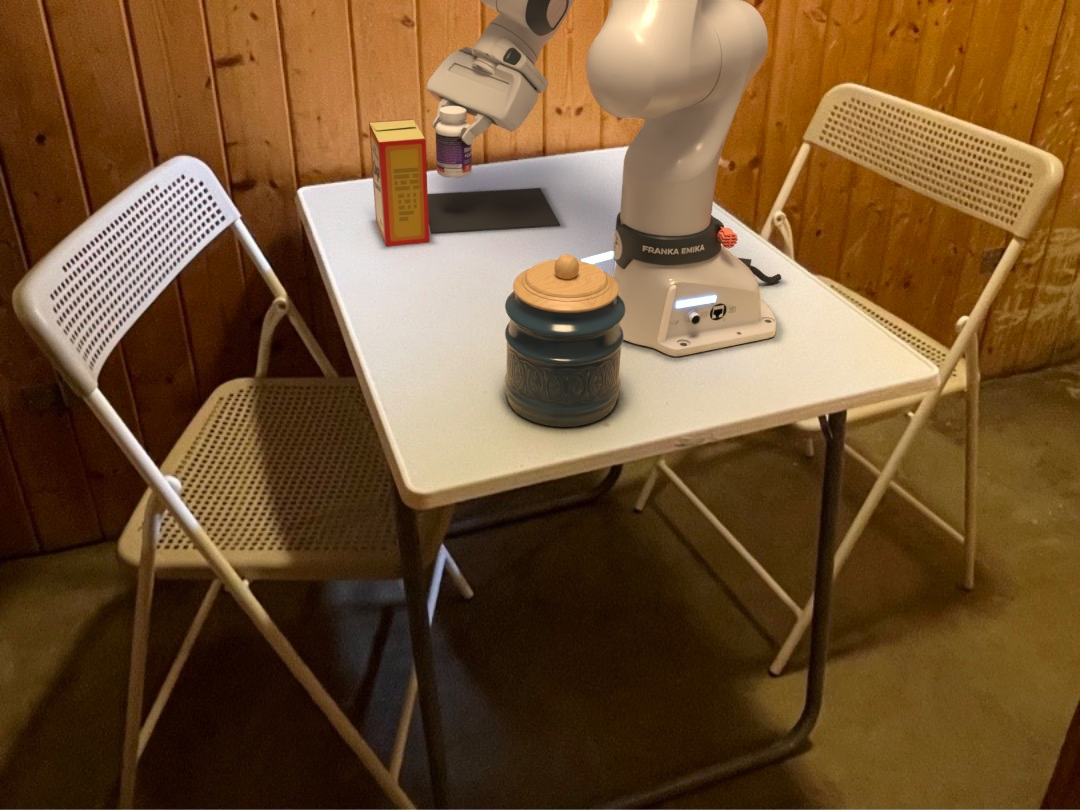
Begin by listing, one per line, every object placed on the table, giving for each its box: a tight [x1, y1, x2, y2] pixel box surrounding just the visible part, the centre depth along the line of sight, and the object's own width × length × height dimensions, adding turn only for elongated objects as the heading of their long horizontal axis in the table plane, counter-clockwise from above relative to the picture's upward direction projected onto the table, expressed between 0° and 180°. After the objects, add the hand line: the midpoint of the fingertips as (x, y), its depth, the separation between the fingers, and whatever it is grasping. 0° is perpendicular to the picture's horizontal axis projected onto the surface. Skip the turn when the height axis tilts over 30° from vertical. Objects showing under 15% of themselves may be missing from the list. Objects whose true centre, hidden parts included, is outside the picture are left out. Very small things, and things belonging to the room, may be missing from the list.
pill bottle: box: [434, 106, 473, 179], centre depth 152 cm, size 5×5×10 cm
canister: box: [504, 253, 626, 428], centre depth 110 cm, size 13×13×18 cm
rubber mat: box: [428, 187, 561, 235], centre depth 161 cm, size 20×16×1 cm
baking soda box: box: [368, 118, 431, 247], centre depth 149 cm, size 10×6×16 cm
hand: (450, 135), depth 152 cm, fingers closed on pill bottle, 5 cm apart
